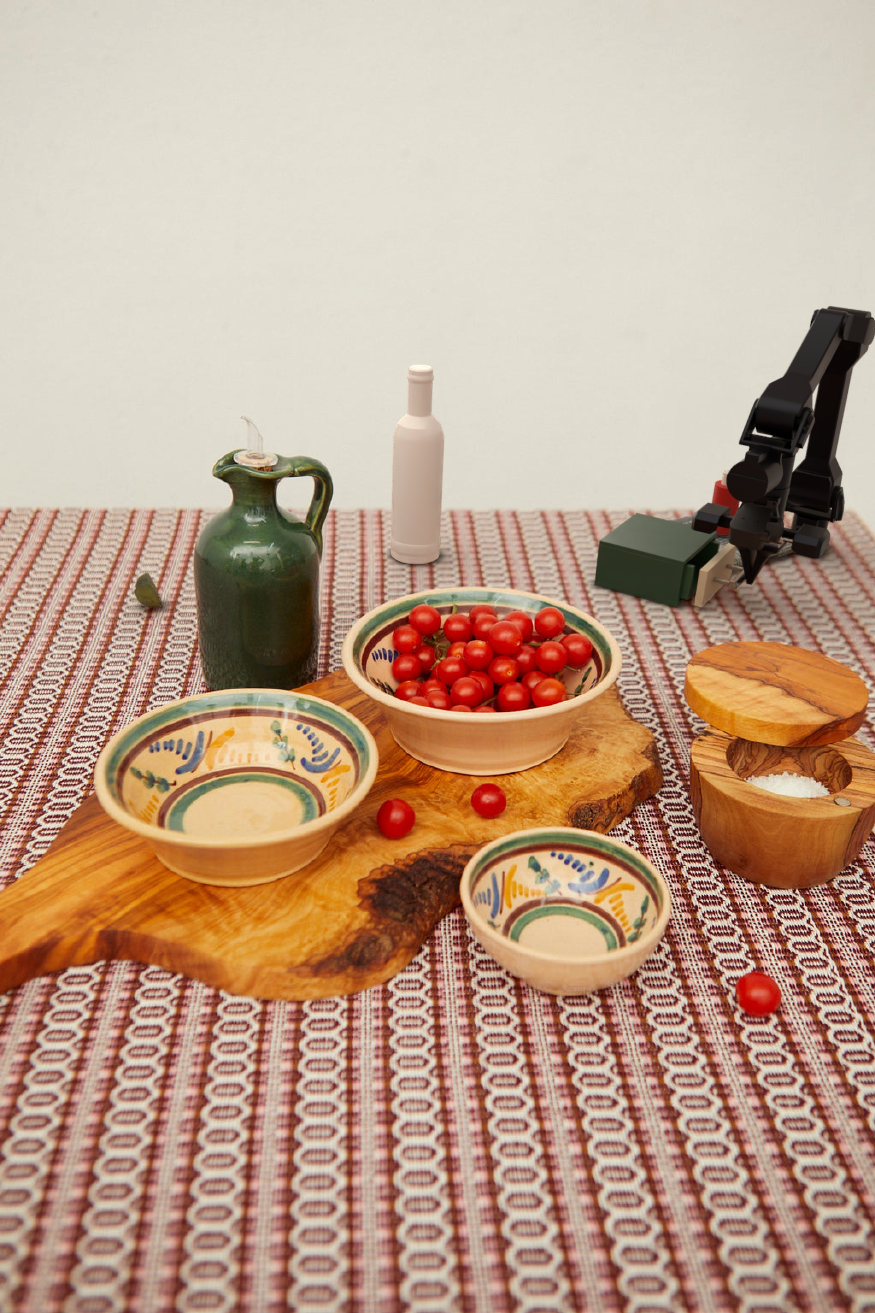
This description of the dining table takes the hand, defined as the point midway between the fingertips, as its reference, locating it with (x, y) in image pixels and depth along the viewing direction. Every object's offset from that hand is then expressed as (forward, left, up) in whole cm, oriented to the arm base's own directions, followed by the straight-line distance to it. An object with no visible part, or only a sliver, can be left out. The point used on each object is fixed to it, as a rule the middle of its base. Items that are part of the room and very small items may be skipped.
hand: (749, 583), depth 162 cm
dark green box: (0, -15, -4) cm, 15 cm away
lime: (+52, -70, -4) cm, 87 cm away
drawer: (0, -9, -3) cm, 9 cm away
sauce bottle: (-20, -11, -1) cm, 23 cm away
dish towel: (-20, -11, -4) cm, 23 cm away
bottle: (+14, -50, -4) cm, 52 cm away
